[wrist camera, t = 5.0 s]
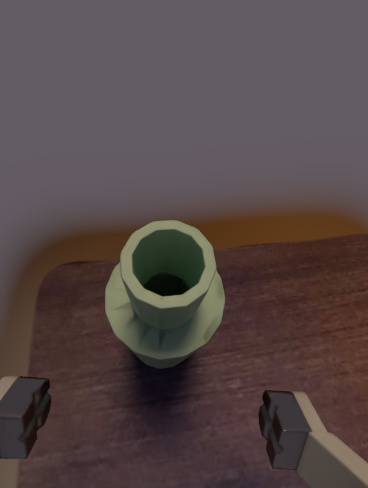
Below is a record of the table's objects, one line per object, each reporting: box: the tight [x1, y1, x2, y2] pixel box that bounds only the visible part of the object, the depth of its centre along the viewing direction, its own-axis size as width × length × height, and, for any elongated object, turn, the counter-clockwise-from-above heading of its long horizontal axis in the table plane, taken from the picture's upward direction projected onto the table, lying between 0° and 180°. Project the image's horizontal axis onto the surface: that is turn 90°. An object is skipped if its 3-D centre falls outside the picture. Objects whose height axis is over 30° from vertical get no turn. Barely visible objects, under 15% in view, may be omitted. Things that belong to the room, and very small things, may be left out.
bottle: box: [105, 220, 225, 369], centre depth 16 cm, size 6×6×16 cm
